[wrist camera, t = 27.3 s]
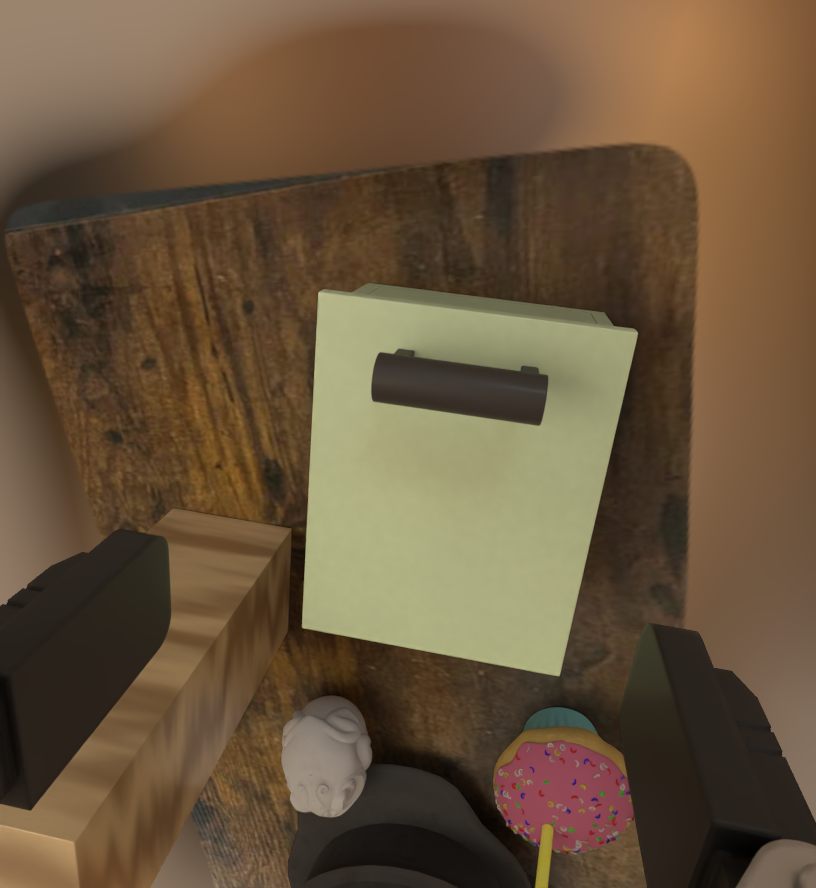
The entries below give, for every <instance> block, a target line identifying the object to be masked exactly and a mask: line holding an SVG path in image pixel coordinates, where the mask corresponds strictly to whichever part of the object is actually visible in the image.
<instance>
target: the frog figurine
mask: <svg viewBox="0 0 816 888" xmlns="http://www.w3.org/2000/svg"><path fill="white" fill-rule="evenodd" d="M370 744H371V740H370V737H369V736H368V732H367V729H366V724H365V721H364V718H363V716H362V714H361V712H360V711H359V709H358V708H357V707H356V706H355V705H354V704H353V703H352V702H350V701H349V700H347V699H345V698H342V697H339V696H323V697H319V698H317V699H315V700H313V701H311V702H310V703H308V704H307V705H306V706H305V707H304V708H303V709H302V710H301V711H295V712H294V713H293V715H292V720H290V721H289V722H288V723H287V724H286V725H285V727H284V730H283V737H282V745H283V752H282V758H281V760H282V768H283V771H284V773H285V775H286V778H285V779H286V780H287V788H288V789H289V790H290V791H291V795H290V801H291V803H292V805H293V806H294V808H295V809H296V810H297V811H300V812H310V811H311V812H313V813H315V814H316V815H318V816H322V817H323V816H324V817H337V816H340V815H342V814H343V813H345V812H346V811H347V810H348V809H349V808H350V807H351V806H352V804H353V803H354V802H355V801H356V800H357V798H358V797H359V796H360V794H361V792H362V790H363V788H364V785H365V781H366V776H367V774H366V772H365V770H367V769H368V767H369V766H370V764H371V761H372V749H371V747H370Z"/></svg>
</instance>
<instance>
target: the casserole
mask: <svg viewBox="0 0 816 888" xmlns="http://www.w3.org/2000/svg"><path fill="white" fill-rule="evenodd" d="M365 772H366V774H367V776H366V781H365V785H364V788H363V790H362V792H361V794H360V796H359V797H358V798H357V800H356V801H355V802H354V803H353V804H352V806H351V807H350V808H349V809H348V810H347V811H346V812H345V813H343V814H342V815H340V816H337V817H324V816H323V817H322V816H318V815H316V814H315V813H313V812H311V811H310V812H300V811H298V830H297V833H296V836H295V840H294V843H293V846H292V850H291V853H290V856H289V860H288V877H289V881H290V885H291V888H531V885H530V882H529V880H528V877H527V874H526V873H525V871H524V870H523V868H522V867H521V865H520V864H519V862H518V861H517V859H516V858H515V856H514V855H513V854H512V853H511V852H510V851H509V850H508V849H507V848H506V847H505V846H504V845H503V844H502V843H501V842H500V841H499V840H498V839H497V838H496V837H495V836H494V835H493V834H492V833H491V832H490V831H489V830H488V829H487V828H486V827H485V826H484V825H483V824H482V823H481V822H480V820H479V819H478V817H477V816H476V814H475V813H474V811H473V810H472V808H471V807H470V805H469V804H468V802H467V801H466V800H465V798H464V797H463V796H462V794H461V793H460V792H459V790H458V789H457V788H456V787H455V786H453V785H452V784H450V783H449V782H447V781H446V780H444V779H443V778H441V777H440V776H437V775H435V774H432V773H429V772H426V771H423V770H420V769H416V768H411V767H405V766H399V765H393V764H370V766H369V767H368V769H367V770H365Z"/></svg>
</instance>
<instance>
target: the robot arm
mask: <svg viewBox="0 0 816 888" xmlns="http://www.w3.org/2000/svg"><path fill="white" fill-rule="evenodd" d="M170 620H171V590H170V566H169V547H168V543H167V541H166V539H165V538H164V537H163V536H158V535H152V534H147V533H141V532H135V531H130V530H124V529H119V530H116V531H115V532H113V533H112V534H111V535H110V536H108V537H107V538H106V539H105V540H104V541H102V542H101V543H100V544H99V545H98V546H96V547H95V548H94V549H93V550H92V551H90V552H89V553H85V552H82V553H79V554H77V555H75V556H72V557H70V558H68V559H66V560H63V561H61V562H59V563H57V564H55V565H52V566H51V567H49V568H48V569H47V570H45V571H44V572H43V573H42V574H40V575H39V576H38V577H37V578H35V579H34V580H33V581H32V582H30V583H29V584H28V585H27V588H26V589H24V588H23V589H21V590H20V591H19V592H18V593H17V594H15V595H14V596H13V597H12V598H10V599H9V600H8V603H7V604H6V605H4V604H2V605H1V606H0V804H3V805H7V806H12V807H16V808H20V809H25V810H29V811H31V810H32V809H33V807H34V806H35V805H36V804H37V802H38V801H39V800H40V799H41V797H42V796H43V795H44V794H45V792H46V791H47V790H48V789H49V787H50V786H51V785H52V783H53V782H54V781H55V780H56V778H57V777H58V776H59V775H60V773H61V772H62V771H63V770H64V768H65V767H66V766H67V765H68V763H69V762H70V761H71V760H72V758H73V757H74V756H75V755H76V753H77V752H78V751H79V750H80V748H81V747H82V746H83V744H84V743H85V742H86V741H87V739H88V738H89V737H90V736H91V734H92V733H93V732H94V731H95V729H96V728H97V727H98V726H99V724H100V723H101V722H102V721H103V719H104V718H105V717H106V716H107V714H108V713H109V712H110V710H111V709H112V708H113V707H114V705H115V704H116V703H117V702H118V700H119V699H120V698H121V697H122V695H123V694H124V693H125V692H126V690H127V689H128V688H129V687H130V685H131V684H132V683H133V682H134V680H135V679H136V678H137V677H138V675H139V674H140V673H141V671H142V670H143V669H144V668H145V666H146V665H147V664H148V663H149V661H150V660H151V659H152V658H153V656H154V655H155V654H156V653H157V651H158V650H159V649H160V647H161V646H162V644H163V642H164V640H165V638H166V635H167V632H168V629H169V625H170ZM770 728H771V726H770V724H769V722H768V719H767V718H766V715H765V713H764V711H763V709H762V707H761V705H760V703H759V700H758V698H757V697H756V696H755V695H754V694H753V693H752V692H751V691H750V690H749V689H748V688H747V687H746V685H745V684H743V682H742V681H741V680H740V679H739V678H738V677H737V676H736V675H735V674H734V673H733V672H732V671H729V670H723V669H718V668H714V667H713V665H712V662H711V660H710V657H709V655H708V652H707V650H706V648H705V645H704V642H703V640H702V638H701V636H700V634H699V633H698V632H697V631H692V630H686V629H681V628H675V627H669V626H664V625H658V624H652V623H647V624H646V625H645V626H644V628H643V630H642V633H641V636H640V639H639V643H638V646H637V650H636V653H635V657H634V661H633V664H632V668H631V671H630V675H629V679H628V682H627V686H626V689H625V693H624V696H623V700H622V706H621V714H620V739H621V745H622V751H623V756H624V762H625V767H626V773H627V778H628V784H629V789H630V795H631V800H632V806H633V811H634V817H635V822H636V828H637V833H638V839H639V844H640V850H641V855H642V861H643V866H644V872H645V878H646V883H647V888H816V822H815V820H814V818H813V816H812V814H811V811H810V809H809V807H808V805H807V803H806V801H805V799H804V797H803V795H802V792H801V790H800V788H799V786H798V784H797V782H796V780H795V777H794V775H793V773H792V771H791V769H790V767H789V765H788V762H787V760H786V758H785V757H782V750H781V747H780V745H779V743H778V741H777V739H776V737H775V735H774V733H773V732H771V730H770Z"/></svg>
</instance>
